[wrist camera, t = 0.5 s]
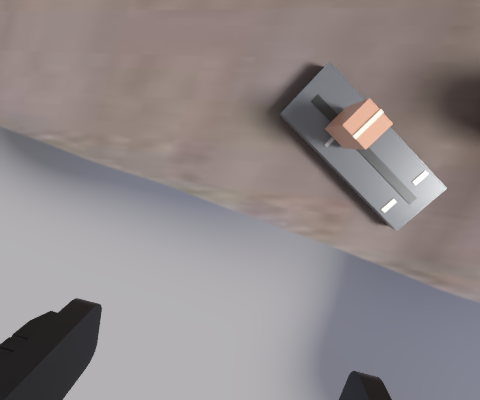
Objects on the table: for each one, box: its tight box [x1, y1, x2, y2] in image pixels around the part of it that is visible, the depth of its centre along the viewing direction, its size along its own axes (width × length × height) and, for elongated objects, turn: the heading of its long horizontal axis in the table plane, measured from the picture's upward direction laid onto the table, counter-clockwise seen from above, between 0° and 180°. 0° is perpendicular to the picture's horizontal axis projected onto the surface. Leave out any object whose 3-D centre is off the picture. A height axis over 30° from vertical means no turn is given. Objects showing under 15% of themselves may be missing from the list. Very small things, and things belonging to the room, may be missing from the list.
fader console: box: [279, 62, 447, 231], centre depth 31 cm, size 7×19×2 cm, turn 46°
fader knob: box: [324, 98, 393, 150], centre depth 26 cm, size 3×3×6 cm
